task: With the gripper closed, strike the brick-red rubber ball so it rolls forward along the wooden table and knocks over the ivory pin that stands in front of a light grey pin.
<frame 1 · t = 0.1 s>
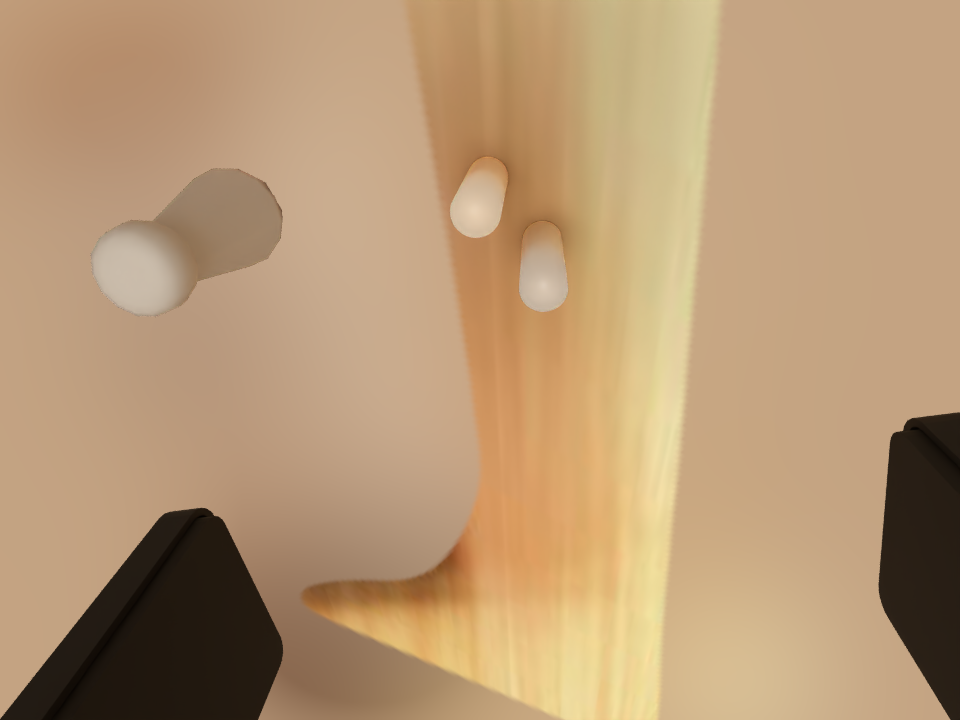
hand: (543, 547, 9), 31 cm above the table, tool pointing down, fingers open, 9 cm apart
salt shaker: (249, 208, 39), on the table
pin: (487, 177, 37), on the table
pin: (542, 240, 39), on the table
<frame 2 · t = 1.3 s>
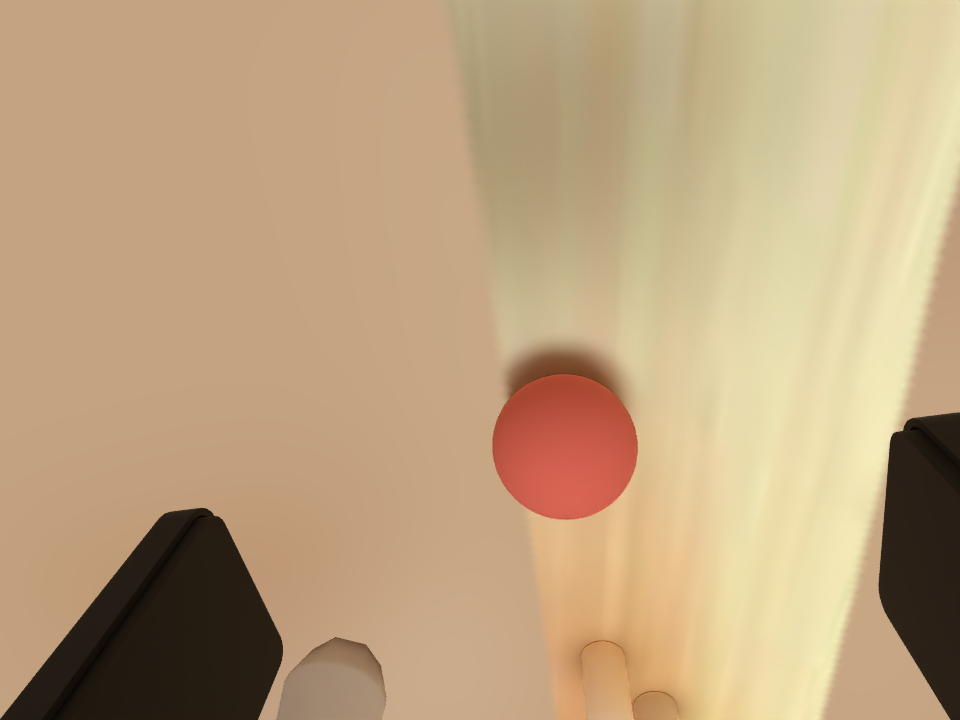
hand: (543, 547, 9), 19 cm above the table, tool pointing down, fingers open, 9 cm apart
salt shaker: (346, 660, 38), on the table
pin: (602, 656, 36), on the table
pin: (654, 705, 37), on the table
ball: (563, 445, 26), on the table
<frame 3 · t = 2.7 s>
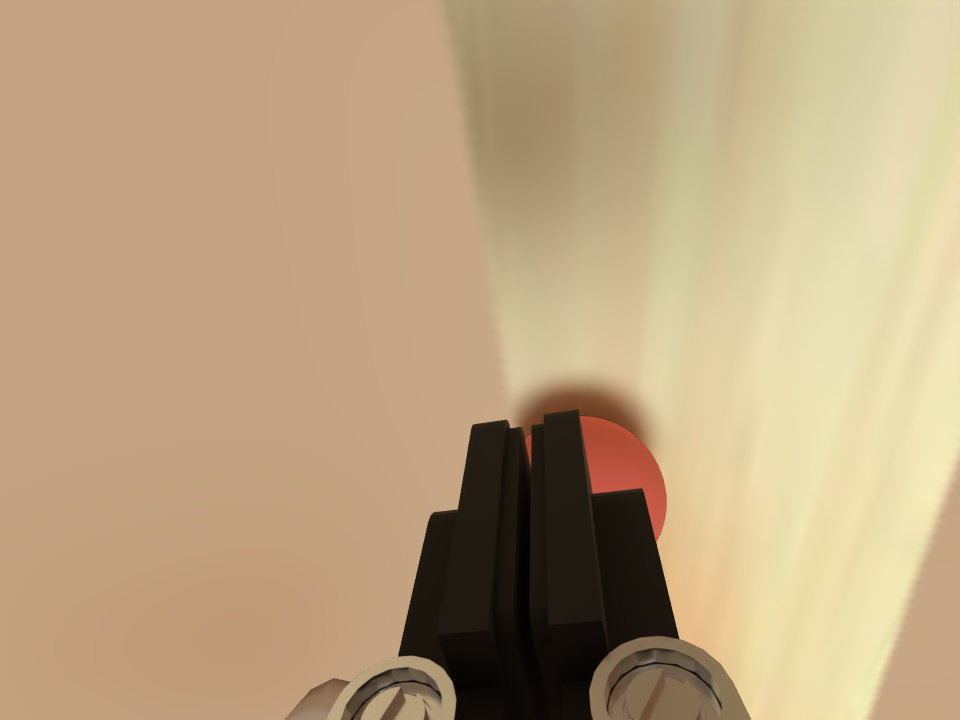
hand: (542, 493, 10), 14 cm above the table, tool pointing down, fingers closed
salt shaker: (346, 699, 35), on the table
ball: (582, 497, 23), on the table
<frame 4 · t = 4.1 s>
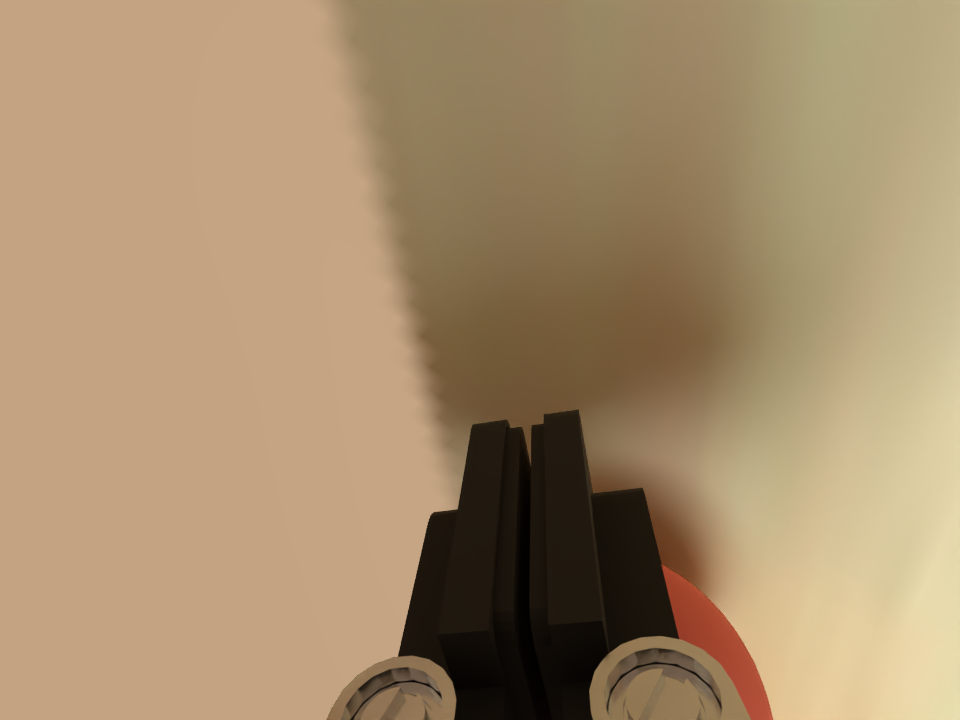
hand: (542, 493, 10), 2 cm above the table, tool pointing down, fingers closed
ball: (594, 718, 11), on the table
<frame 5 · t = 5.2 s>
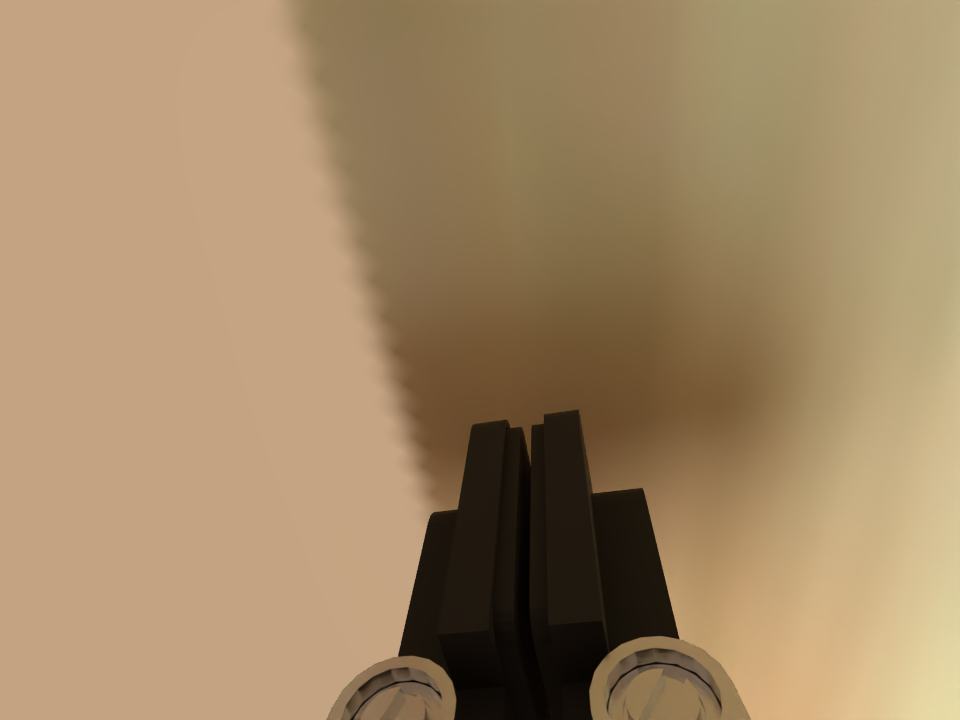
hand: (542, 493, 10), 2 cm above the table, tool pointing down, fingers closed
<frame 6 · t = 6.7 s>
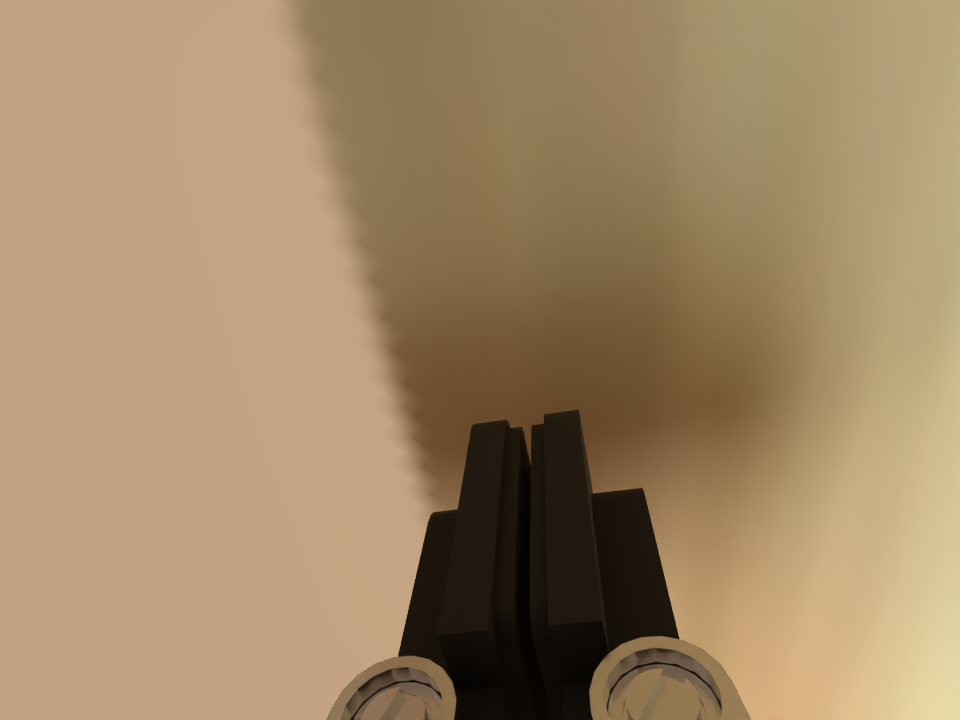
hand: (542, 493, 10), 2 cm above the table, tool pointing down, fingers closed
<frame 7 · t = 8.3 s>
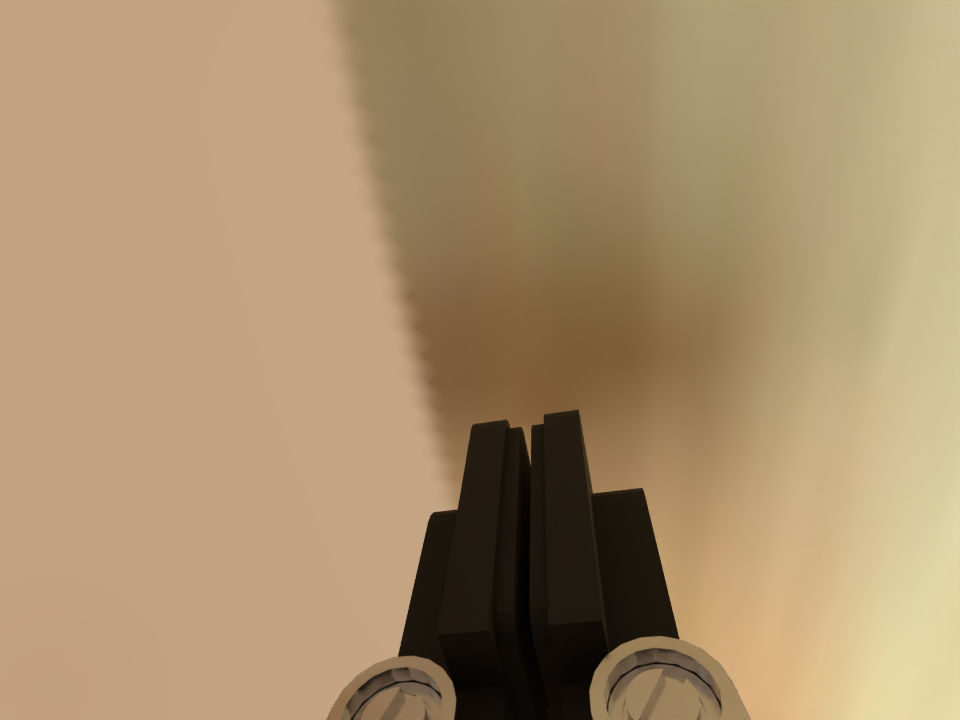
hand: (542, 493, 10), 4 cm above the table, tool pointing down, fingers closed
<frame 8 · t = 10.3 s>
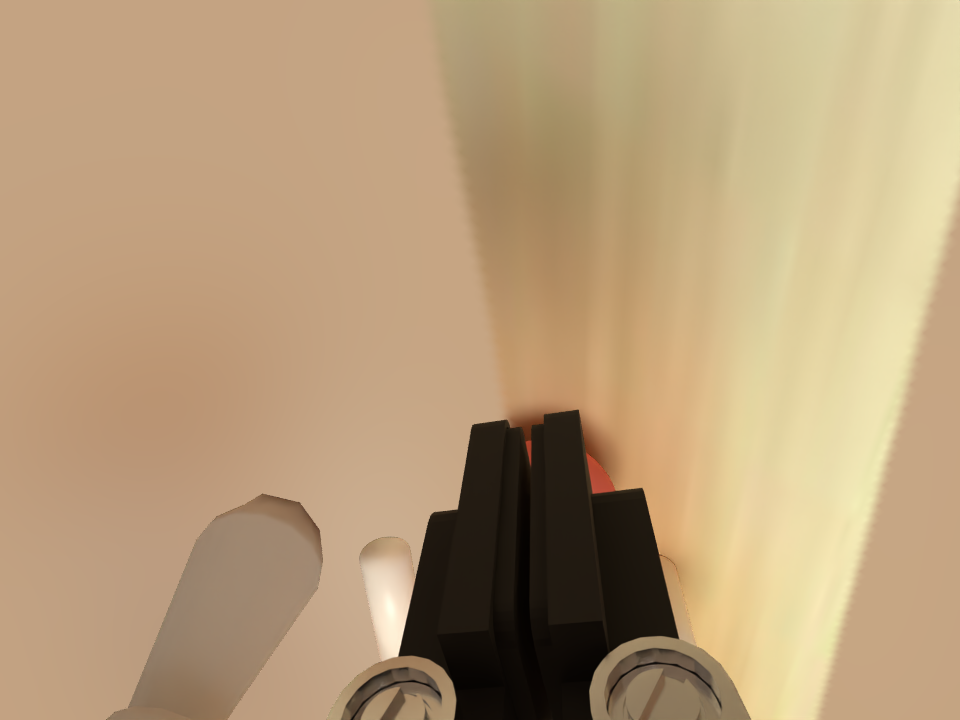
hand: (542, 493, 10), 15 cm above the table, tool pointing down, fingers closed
salt shaker: (279, 525, 31), on the table
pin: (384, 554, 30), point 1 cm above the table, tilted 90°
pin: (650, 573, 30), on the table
ball: (544, 513, 26), on the table
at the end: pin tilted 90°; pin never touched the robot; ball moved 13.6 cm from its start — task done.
